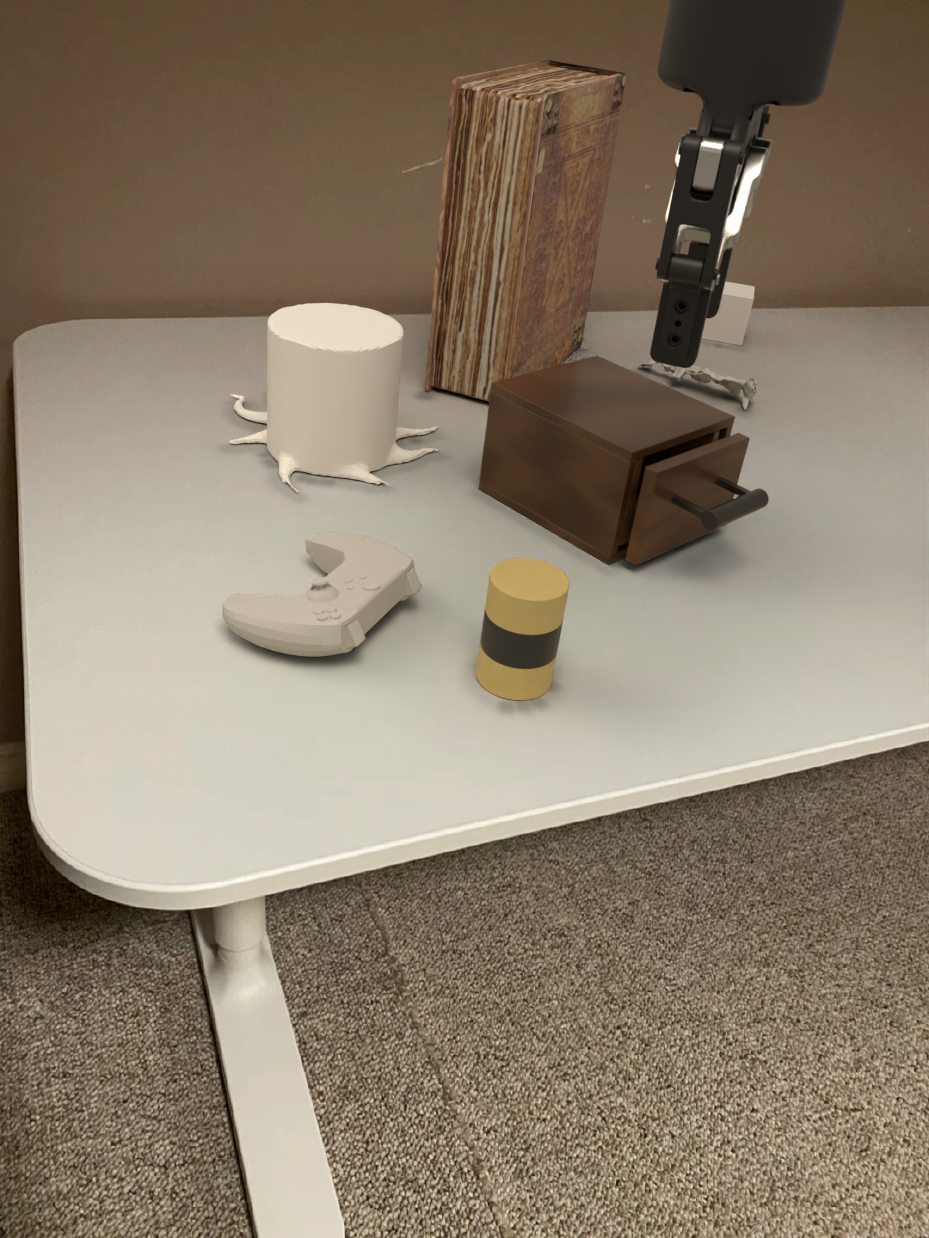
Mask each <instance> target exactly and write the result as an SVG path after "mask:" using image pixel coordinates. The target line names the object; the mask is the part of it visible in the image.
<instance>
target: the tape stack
mask: <svg viewBox="0 0 929 1238" xmlns="http://www.w3.org/2000/svg"><path fill="white" fill-rule="evenodd" d="M569 591H570V580H569V577H568V576H567V574H566V573H565V572H564V571H563V570H562V569H561V568H559V567H557V566H555V565H554V564H552V563H550V562H547V561H545V560H541V559H537V558H530V557H513V558H507V559H504V560H501V561H498V562H497V563H496V564H494V565H493V566H492V567H491V569H490V571H489V575H488V582H487V591H486V597H485V604H484V605H485V606H484V613H483V620H482V628H481V634H480V641H479V650H478V655H477V662H476V670H475V675H476V679H477V682H478V683H479V684H480V686H482V688H483V689H485V690H486V691H487V692H489V693H490V694H492V695H494V696H496V697H498V698H501V699H506V700H511V701H529V700H534V699H537V698H539V697H541V696H543V695H545V694H546V693H547V692H548V691H549V690H550V688H551V686H552V682H553V677H554V671H555V665H556V660H557V655H558V651H559V650H558V649H559V645H560V640H561V634H562V629H563V628H562V627H563V623H564V617H565V613H566V607H567V602H568V597H569Z"/></svg>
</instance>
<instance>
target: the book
mask: <svg viewBox="0 0 929 1238" xmlns="http://www.w3.org/2000/svg"><path fill="white" fill-rule="evenodd" d="M626 81H627V73H625V72H622V71H616V70H609V69H605V68H604V69H603V68H597V67H591V66H586V65H580V64H574V63H567V62H563V61H556V60H550V59H545V60H540V61H535V62H531V63H524V64H520V65H516V66H510V67H509V66H508V67H504V68H499V69H494V70H489V71H484V72H478V73H474V74H468V75H462V76H457V77H454V78H453V79H452V81H451V86H450V88H451V89H450V98H449V110H448V121H447V131H446V133H447V134H446V144H445V154H444V165H443V166H444V167H443V175H442V187H441V188H442V189H441V199H440V211H439V223H438V233H437V244H436V245H437V246H436V255H435V266H434V267H435V268H434V276H433V277H434V279H433V290H432V300H431V312H430V322H429V323H430V324H429V335H428V346H427V354H426V355H427V358H426V366H425V379H424V391H425V392H427V393H429V392H431V391H432V390H434V389H435V388H437V389H441V390H444V391H449V392H452V393H455V394H458V395H462V396H466V397H470V398H474V399H478V400H482V401H485V402H488V403H489V400H490V392H491V383H492V382H495V381H499V380H503V379H507V378H511V377H515V376H519V375H523V374H527V373H531V372H534V371H538V370H542V369H546V368H550V367H554V366H558V365H561V364H563V362H564V361H565V360H566V359H567V358H569V357H570V356H571V355H572V354H573V353H575V352H576V351H577V350H578V349H579V348H580V347H581V346H582V345H583V340H584V333H585V327H586V322H587V321H586V320H587V315H588V310H589V303H590V296H591V291H592V285H593V279H594V274H595V267H596V262H597V255H598V248H599V243H600V236H601V232H602V226H603V219H604V214H605V213H604V212H605V207H606V200H607V194H608V189H609V182H610V178H611V172H612V165H613V158H614V152H615V148H616V147H615V146H616V141H617V135H618V128H619V123H620V117H621V110H622V106H623V105H622V104H623V99H624V93H625V87H626Z"/></svg>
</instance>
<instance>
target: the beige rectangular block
mask: <svg viewBox="0 0 929 1238" xmlns="http://www.w3.org/2000/svg"><path fill="white" fill-rule="evenodd" d="M754 300H755V286H753V285H748V284H742V283H736V282H731V281H725V285H724V290H723V294H722V299H721V303H720V307H719V310H718V312H717V314H716V315H715V316H714V317H713V318H706V320H705V325H704V329H703V334H702V338H701V340H702V339H703V340H708V341H714V342H719V343H725V344H731V345H735V346H740V347H741V346H743V344H744V340H745V336H746V331H747V329H748V328H747V327H748V323H749V319H750V316H751V311H752V308H753V303H754Z"/></svg>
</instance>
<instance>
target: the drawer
mask: <svg viewBox="0 0 929 1238" xmlns="http://www.w3.org/2000/svg"><path fill="white" fill-rule="evenodd" d="M719 433H720V430H718V431H715V432H712V433H709V434H707V435H704V436H701V437H698V438H695V439H692V440H690V441H687V442H684V443H681V444H678V445H676V446H673V447H670V448H667V449H664V450H662V451H659V452H656V453H653V454H650V455H648V456H645V457H642V458H639V459H636V465H635V469H634V474H633V479H632V483H631V488H630V493H629V498H628V502H627V507H626V512H625V517H624V521H623V526H622V531H621V535H620V540H619V545H618V546H621V545H624V544H626V543H628V542H629V545H628V549H627V554H626V558H625V560H626V561H628V562H630V563H631V564H633V565H635V566H638V565H640V564H643V563H645V562H647V561H649V560H652V559H653V558H656V557H658V556H660V555H662V554H665V553H667V552H669V551H672V550H674V549H675V548H678V547H681V546H682V545H684V544H687V543H689V542H691V541H693V540H696V539H698V538H700V537H703V536H705V535H707V534H710V533H711V532H713V531H716V530H718V529H720V528H724V527H726V526H727V524H729V523H732V522H735V521H736V520H739V519H741V518H743V517H745V516H748V515H750V514H752V513H755V512H757V511H759V510H761V509H763V508H765V507H766V506H767V505H768V504H769V501H770V499H769V498H770V497H769V494H768V492H767V491H766V490H765V489H763V488H755V489H752V490H750V489H748V488H745V487H743V486H742V485H739V480H740V476H741V472H742V470H743V465H744V461H745V458H746V454H747V450H748V447H749V444H750V443H749V442H750V440H751V437H750V436H747V435H745V434H742V433H740V432H737V433H736V432H735V433H734V434H730V436H728V437H725V438H723V439H720V440H718V437H719ZM735 495H736V497H735Z"/></svg>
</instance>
